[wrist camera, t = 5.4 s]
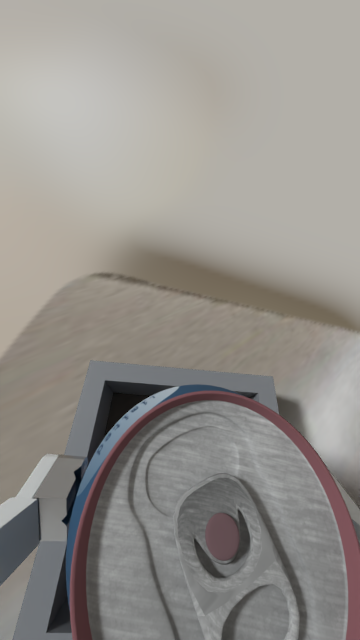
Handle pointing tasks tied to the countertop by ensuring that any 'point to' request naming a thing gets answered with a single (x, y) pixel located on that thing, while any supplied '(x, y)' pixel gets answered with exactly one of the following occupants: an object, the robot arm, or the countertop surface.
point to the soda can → (210, 528)
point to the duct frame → (85, 437)
